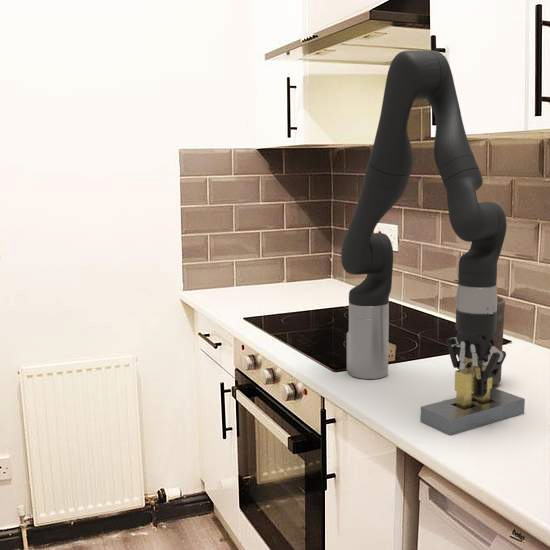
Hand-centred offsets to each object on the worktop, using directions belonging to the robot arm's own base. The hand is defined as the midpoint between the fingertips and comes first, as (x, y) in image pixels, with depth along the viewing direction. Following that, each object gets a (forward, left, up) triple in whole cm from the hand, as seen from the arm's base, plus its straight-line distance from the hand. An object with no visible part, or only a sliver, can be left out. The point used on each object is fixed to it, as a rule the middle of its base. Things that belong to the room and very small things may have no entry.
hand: (473, 393), depth 136 cm
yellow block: (0, 0, -4) cm, 4 cm away
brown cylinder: (-13, +17, -5) cm, 22 cm away
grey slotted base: (0, 0, -5) cm, 5 cm away
